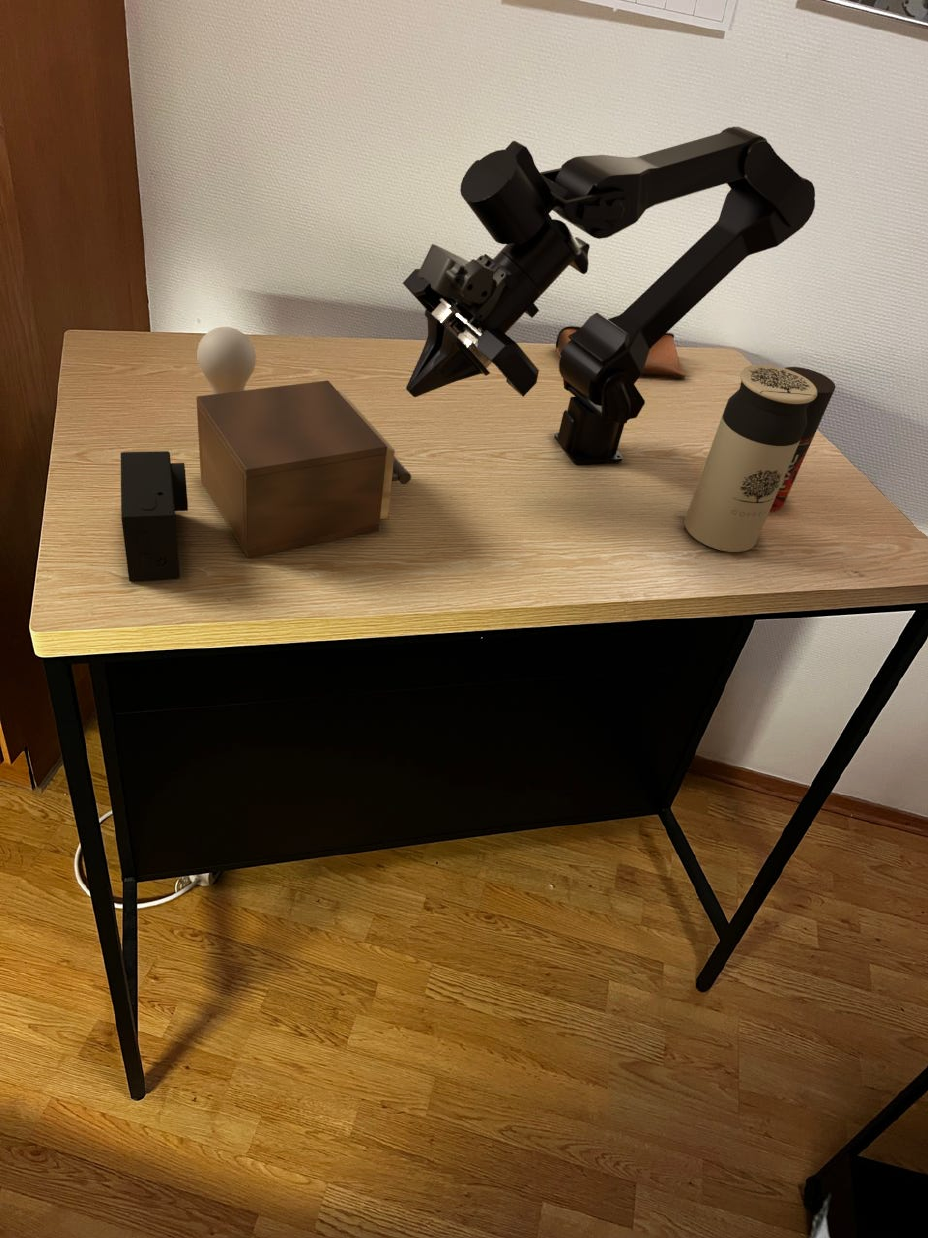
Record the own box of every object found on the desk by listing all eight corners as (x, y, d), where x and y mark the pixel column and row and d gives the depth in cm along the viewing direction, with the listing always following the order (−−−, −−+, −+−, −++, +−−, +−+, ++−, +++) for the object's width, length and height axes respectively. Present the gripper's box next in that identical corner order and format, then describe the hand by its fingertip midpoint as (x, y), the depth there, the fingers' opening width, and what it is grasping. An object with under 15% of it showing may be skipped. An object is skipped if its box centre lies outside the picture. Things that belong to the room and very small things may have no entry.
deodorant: (756, 515, 102) (807, 395, 93) (723, 487, 106) (768, 369, 96) (793, 507, 105) (847, 389, 95) (760, 480, 109) (808, 364, 99)
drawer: (371, 449, 100) (376, 384, 94) (423, 510, 92) (433, 443, 87) (224, 473, 92) (222, 404, 87) (269, 542, 84) (269, 470, 79)
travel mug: (678, 507, 101) (731, 357, 90) (747, 517, 102) (808, 369, 90) (689, 549, 95) (747, 393, 84) (762, 559, 96) (830, 406, 84)
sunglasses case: (571, 372, 123) (573, 321, 122) (553, 376, 130) (555, 327, 128) (690, 377, 127) (693, 328, 126) (667, 380, 134) (670, 334, 133)
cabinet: (324, 461, 98) (328, 379, 92) (379, 530, 90) (387, 446, 84) (200, 481, 92) (196, 396, 86) (247, 558, 83) (246, 469, 77)
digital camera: (194, 578, 80) (189, 514, 76) (129, 582, 79) (121, 516, 74) (187, 512, 88) (183, 449, 83) (127, 514, 86) (120, 450, 81)
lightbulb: (189, 425, 100) (183, 330, 92) (221, 404, 104) (217, 312, 97) (237, 442, 98) (234, 347, 91) (267, 420, 103) (267, 328, 96)
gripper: (428, 182, 87) (320, 304, 89) (533, 256, 76) (406, 394, 78) (486, 258, 96) (386, 367, 98) (588, 334, 84) (472, 456, 87)
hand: (409, 393), depth 90 cm, fingers closed
